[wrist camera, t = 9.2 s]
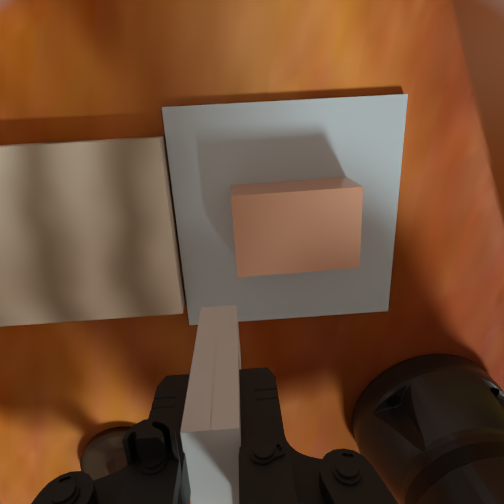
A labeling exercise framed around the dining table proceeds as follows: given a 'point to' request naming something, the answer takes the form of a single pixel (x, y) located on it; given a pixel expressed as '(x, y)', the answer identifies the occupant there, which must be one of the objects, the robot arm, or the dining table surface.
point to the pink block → (297, 226)
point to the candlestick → (104, 453)
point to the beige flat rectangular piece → (87, 232)
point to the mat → (275, 170)
